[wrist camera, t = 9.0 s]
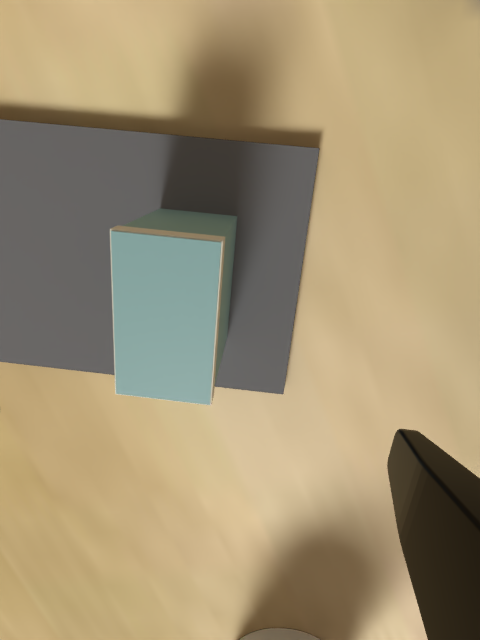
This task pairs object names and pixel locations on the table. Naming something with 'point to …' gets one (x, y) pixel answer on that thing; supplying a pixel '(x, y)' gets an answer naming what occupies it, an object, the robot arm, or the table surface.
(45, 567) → the table surface
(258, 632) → the cup
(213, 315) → the pale teal block
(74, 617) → the table surface
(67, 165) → the mat
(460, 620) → the robot arm
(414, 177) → the table surface
